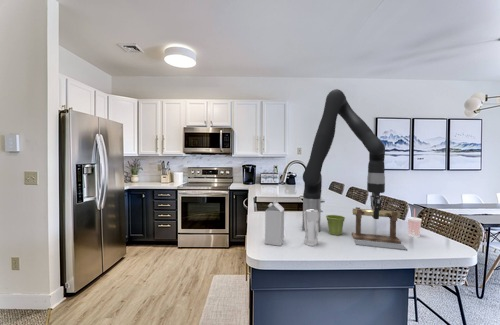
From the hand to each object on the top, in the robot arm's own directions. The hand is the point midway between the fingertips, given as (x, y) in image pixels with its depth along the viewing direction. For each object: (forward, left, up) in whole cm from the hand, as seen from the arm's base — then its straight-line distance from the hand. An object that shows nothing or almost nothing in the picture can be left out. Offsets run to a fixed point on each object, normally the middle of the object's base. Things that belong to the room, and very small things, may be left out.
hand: (375, 217), depth 114 cm
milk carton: (-45, -21, -10) cm, 51 cm away
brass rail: (0, 0, +2) cm, 2 cm away
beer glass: (-29, -17, -10) cm, 35 cm away
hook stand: (0, 0, -10) cm, 10 cm away
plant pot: (-18, +3, -10) cm, 21 cm away
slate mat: (0, -9, -10) cm, 14 cm away
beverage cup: (+20, +12, -10) cm, 26 cm away
